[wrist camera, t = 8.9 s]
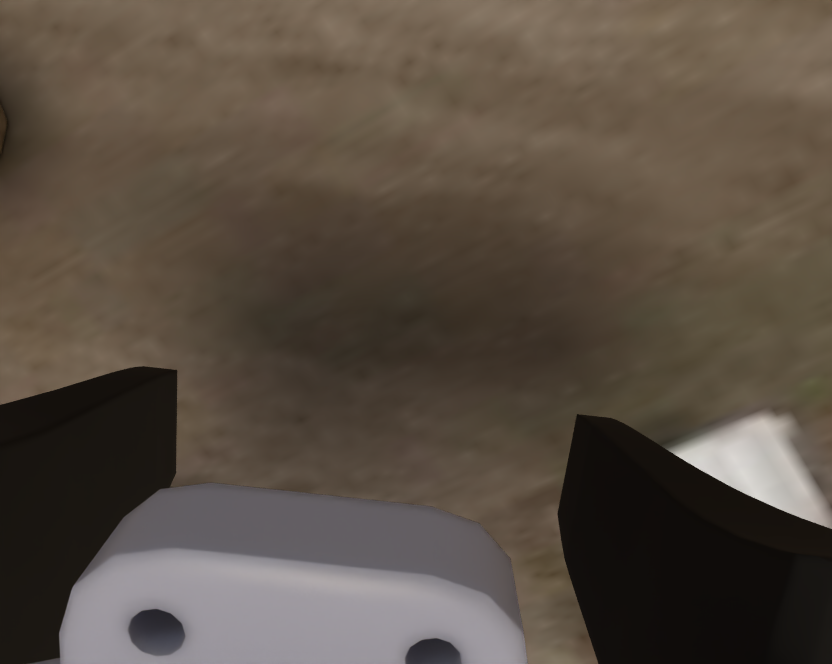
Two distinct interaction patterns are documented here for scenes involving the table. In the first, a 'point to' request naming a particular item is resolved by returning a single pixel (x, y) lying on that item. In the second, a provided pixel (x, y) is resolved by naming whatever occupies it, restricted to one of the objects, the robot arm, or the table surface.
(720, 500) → the robot arm
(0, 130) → the milkshake
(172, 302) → the table surface
